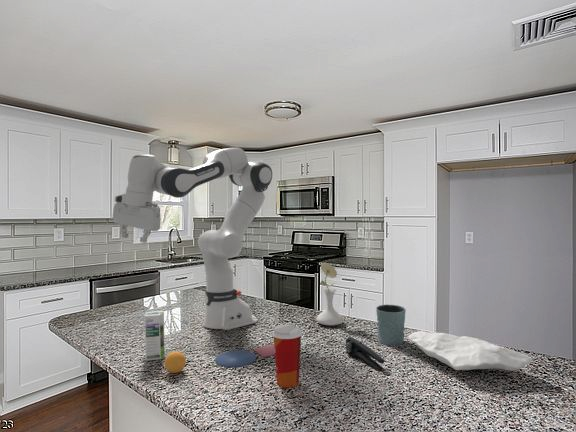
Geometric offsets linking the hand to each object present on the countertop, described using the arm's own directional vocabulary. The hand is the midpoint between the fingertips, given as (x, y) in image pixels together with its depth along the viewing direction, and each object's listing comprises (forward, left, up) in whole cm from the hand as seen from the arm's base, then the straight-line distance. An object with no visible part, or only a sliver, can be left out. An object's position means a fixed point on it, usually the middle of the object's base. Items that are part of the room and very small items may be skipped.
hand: (133, 239), depth 130 cm
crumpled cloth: (-82, +69, -38) cm, 114 cm away
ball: (-7, +28, -35) cm, 45 cm away
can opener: (-60, +50, -38) cm, 87 cm away
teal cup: (-79, +43, -38) cm, 98 cm away
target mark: (-26, +28, -38) cm, 54 cm away
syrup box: (-4, +13, -38) cm, 40 cm away
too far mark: (-38, +28, -38) cm, 60 cm away
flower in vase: (-73, +14, -38) cm, 84 cm away
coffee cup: (-32, +51, -38) cm, 71 cm away
